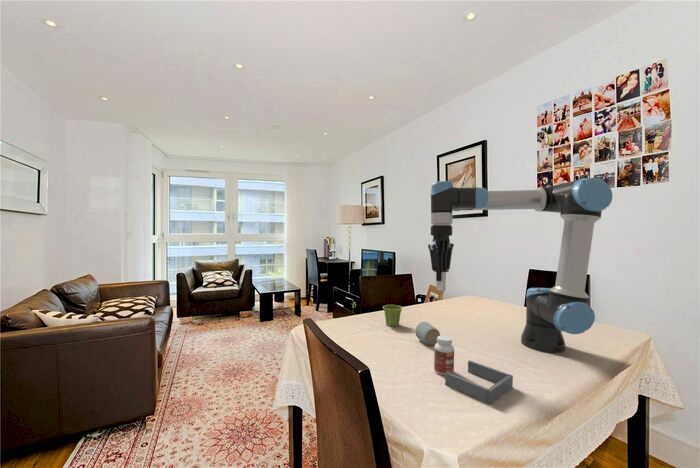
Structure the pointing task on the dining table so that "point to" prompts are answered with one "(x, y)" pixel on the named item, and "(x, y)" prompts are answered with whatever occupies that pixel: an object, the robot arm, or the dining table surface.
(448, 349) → the pill bottle
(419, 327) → the ceramic mug
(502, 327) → the dining table surface
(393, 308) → the plant pot
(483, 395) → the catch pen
